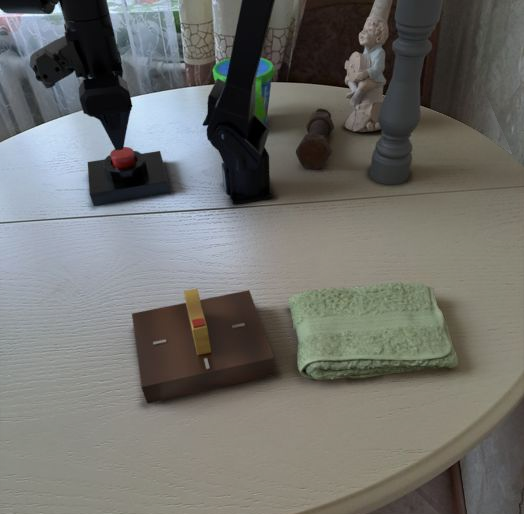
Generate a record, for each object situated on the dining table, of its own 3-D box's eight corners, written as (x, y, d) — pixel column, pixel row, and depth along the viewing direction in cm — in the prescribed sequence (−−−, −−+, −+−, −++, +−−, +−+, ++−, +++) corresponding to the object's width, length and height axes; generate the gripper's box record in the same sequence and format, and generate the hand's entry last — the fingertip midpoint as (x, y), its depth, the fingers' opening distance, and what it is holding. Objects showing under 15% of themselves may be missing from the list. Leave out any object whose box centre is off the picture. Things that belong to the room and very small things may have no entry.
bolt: (325, 136, 93) (315, 176, 83) (302, 121, 92) (290, 160, 82) (343, 109, 89) (335, 148, 79) (319, 93, 88) (309, 130, 78)
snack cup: (212, 110, 98) (206, 53, 90) (264, 104, 99) (263, 47, 92) (225, 148, 88) (220, 88, 80) (283, 140, 89) (284, 80, 82)
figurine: (373, 111, 96) (391, -15, 81) (398, 129, 91) (422, -1, 76) (333, 121, 94) (343, -6, 79) (356, 140, 89) (372, 8, 73)
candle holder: (365, 180, 80) (391, -6, 61) (374, 161, 84) (402, -19, 65) (404, 187, 78) (443, -1, 59) (411, 168, 82) (451, -15, 63)
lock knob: (188, 316, 57) (183, 289, 54) (201, 314, 57) (196, 286, 54) (197, 355, 53) (192, 328, 50) (211, 352, 53) (206, 325, 50)
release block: (162, 162, 85) (158, 140, 82) (170, 193, 79) (166, 170, 76) (91, 174, 84) (84, 151, 81) (93, 206, 77) (86, 183, 74)
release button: (134, 155, 80) (132, 145, 79) (137, 166, 78) (134, 156, 76) (112, 159, 80) (109, 148, 78) (113, 170, 77) (110, 159, 76)
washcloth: (461, 374, 54) (469, 355, 52) (299, 387, 54) (300, 368, 51) (425, 292, 63) (431, 272, 60) (286, 303, 62) (286, 283, 60)
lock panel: (250, 307, 62) (249, 288, 59) (274, 375, 55) (274, 356, 53) (137, 330, 60) (131, 312, 57) (147, 404, 53) (140, 386, 50)
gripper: (22, 0, 68) (60, 116, 80) (16, 47, 56) (62, 175, 68) (106, -9, 69) (131, 106, 81) (117, 35, 58) (144, 162, 69)
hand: (116, 135), depth 75 cm, fingers open, 9 cm apart
